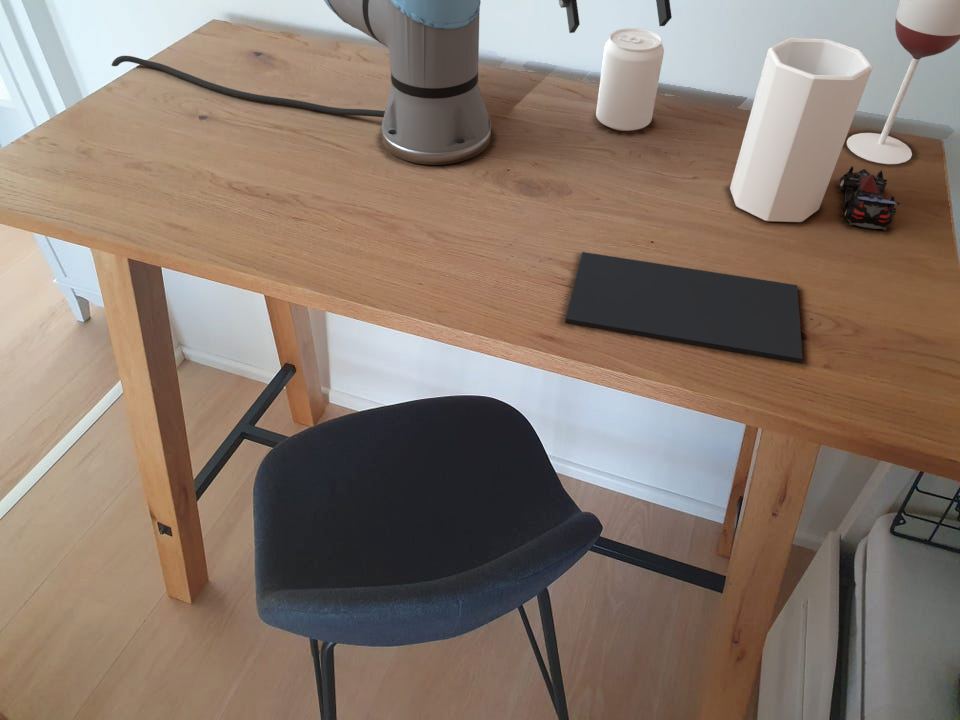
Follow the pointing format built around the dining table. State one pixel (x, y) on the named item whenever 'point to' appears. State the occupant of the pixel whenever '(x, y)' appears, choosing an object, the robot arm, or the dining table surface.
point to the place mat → (687, 306)
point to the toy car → (863, 190)
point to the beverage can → (629, 79)
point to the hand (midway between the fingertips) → (620, 25)
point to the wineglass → (911, 67)
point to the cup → (798, 127)
